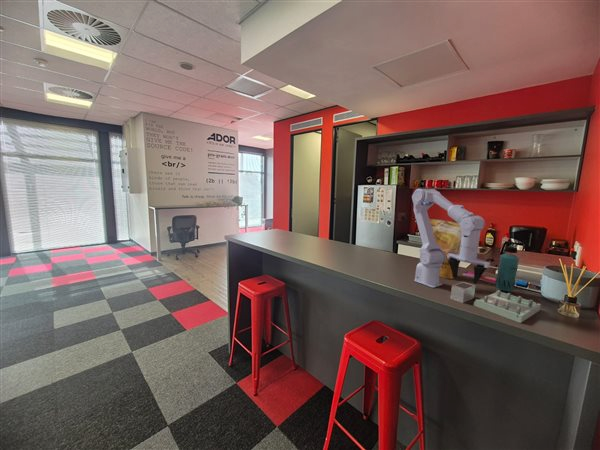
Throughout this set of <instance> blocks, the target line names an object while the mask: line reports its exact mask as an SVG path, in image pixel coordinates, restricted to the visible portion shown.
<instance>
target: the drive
mask: <svg viewBox="0 0 600 450" xmlns="http://www.w3.org/2000/svg"><path fill="white" fill-rule="evenodd" d="M476 286H477V284H472V283H468V282H466V281H461V282H459V283H456V284H452V285H451V290H450V299H451V300H454V301H456V302H459V303H462V304H463V303H466V302H468V301H470V300H473V299H474V298H475V292H476Z"/></svg>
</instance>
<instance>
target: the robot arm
mask: <svg viewBox="0 0 600 450" xmlns="http://www.w3.org/2000/svg"><path fill="white" fill-rule="evenodd" d="M411 200H412V203H413V213H414V217H415V220H416V224H417V228H418V231H419V236H420V238H421V242H422V244H423V246H422V244H421V247H420V248H419V260H420V261H419V262H418V263H417V265H416V268H415V273H414V274H415V275H414V276H415V277H414V280H413V281H414V282H416V283H419V284H422V285H424V286H426V287H430V288H432V289H434V288H436V287H440V286H442V285H443V283H442V282H440V277H439V276H440V267H441V266H442V263H444V262H445V260H446V256H445V253H444V252H443V251H442V249H441V247H440V246H439V245H438V244H437V243H436V241H435V238H434V234H433V231H432V227H431V223H430V220H429V219H430V216H429V213H428V210H429V209H430V208H431V207H432V206H433V205H434V204H436V205H437V206H439V207H440V208H441V209H443V210H445V211H446V212H447V215H448V217H450V218H451V219H452V220H454V222H457V223H459V224H460V228H461V230H462V232H461V233H462V238H461V246H460V252H459V255H457V254H451V253H449V254H447V258H449V260H448V263H449V265H450V267H451V270H452V276H453V279H455V278H457V277H458V275H459V274H458V273H459V266H460V263H461V262H463V263H467V264H470V265H475V266H473V273H474V278H473V281H472V283H473V284H472V285H477V284H478V283H479V281H480V280H479V279H480V277H481V275H483V274H484V273H485V271H486V270H487V269H488V268H490V267H491V262H490V261H486V260H482V259H480V258H478V253H479V252H478V251H479V245H480V244H479V243H480V237H481V232H482V230H483V229H484V228H485V226H486V222H485V219H484V218H483V217H482V216H481V215H474V213H473V212H471V211H468V210H467V209H465V208H464V207H465V206H464V205H462V204H454V203H452V202H451V201H450V200H448V199H447V198H446V197H445V196H443V195H442V194H441V192H440V191H437V189H434V188H431V189H429V188H417V189H415V190H414V192H413V193H412V195H411ZM429 250H431V251H429Z"/></svg>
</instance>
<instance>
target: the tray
mask: <svg viewBox="0 0 600 450" xmlns="http://www.w3.org/2000/svg"><path fill="white" fill-rule="evenodd" d="M541 305H542V304H541V303H538V302H535V301H534V300H533V299H525V298H523V296H520V295H518V296H516V295H513V294H512V293H511V292H507V293H506V292H504V291H503V292H502V290H500V289H497V290H495V292H493V293H491V294H488V295H484V297H481V298H480V299H475V301H473V306H474V307H477V308H479V309H482V310H485V311H487V312H490V313H493V314H496V315H498V316H501V317H503V318H506V319H509V320H511V321H514V322H517V323H520V324H522V323H523V322H525V321H526V320H527V319H529V318H531V317H532V316H534V315H535V314H536V313H538V312H540V310H541Z"/></svg>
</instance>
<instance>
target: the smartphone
mask: <svg viewBox="0 0 600 450" xmlns="http://www.w3.org/2000/svg"><path fill="white" fill-rule="evenodd" d="M462 275H463V276H464V277H465V276H466V277H469V278H472V279H474V271H473V272H472V271H465V272H463V273H462ZM496 279H497V278H496V277H495V278H494V277H491V276H487V275H485V274H484V275H483V274H482V275H481V277H480V279H479V281H483V282H488V283H491V284H495V283H496ZM495 285H496V284H495Z"/></svg>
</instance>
